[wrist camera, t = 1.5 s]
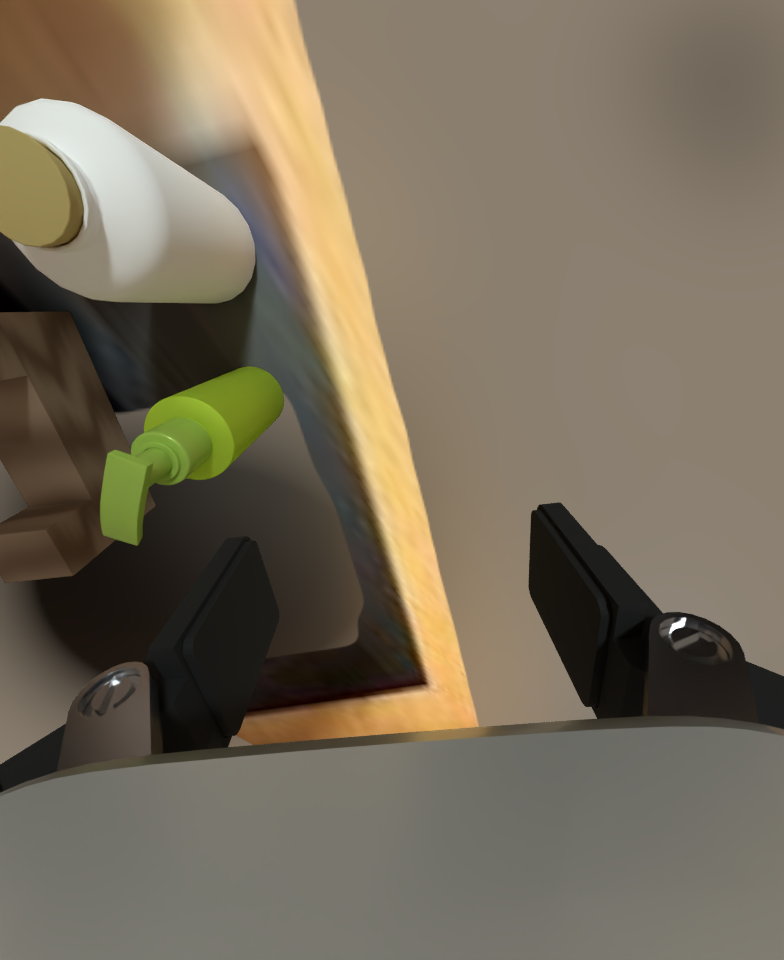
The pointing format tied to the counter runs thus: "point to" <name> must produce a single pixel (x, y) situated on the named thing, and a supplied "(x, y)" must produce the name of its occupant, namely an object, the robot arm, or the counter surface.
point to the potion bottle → (115, 212)
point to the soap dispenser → (187, 443)
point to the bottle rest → (53, 446)
